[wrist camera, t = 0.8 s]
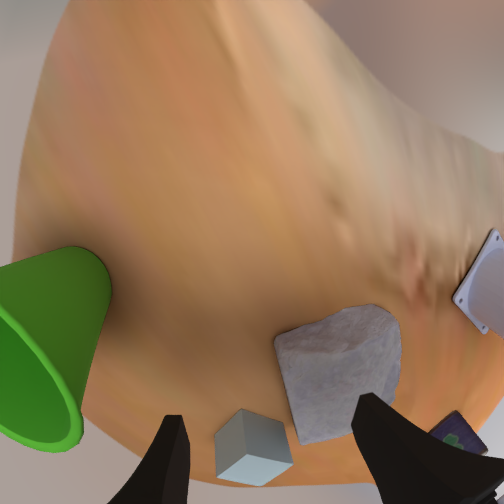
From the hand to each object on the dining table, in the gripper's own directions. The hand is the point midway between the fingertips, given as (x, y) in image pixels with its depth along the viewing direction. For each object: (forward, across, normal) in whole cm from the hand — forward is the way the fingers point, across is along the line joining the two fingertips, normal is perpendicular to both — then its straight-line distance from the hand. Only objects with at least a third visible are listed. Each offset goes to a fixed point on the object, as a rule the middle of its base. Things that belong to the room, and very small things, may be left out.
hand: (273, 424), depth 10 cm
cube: (+10, 0, +13) cm, 16 cm away
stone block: (+10, -7, +6) cm, 14 cm away
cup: (+10, +12, -3) cm, 15 cm away
